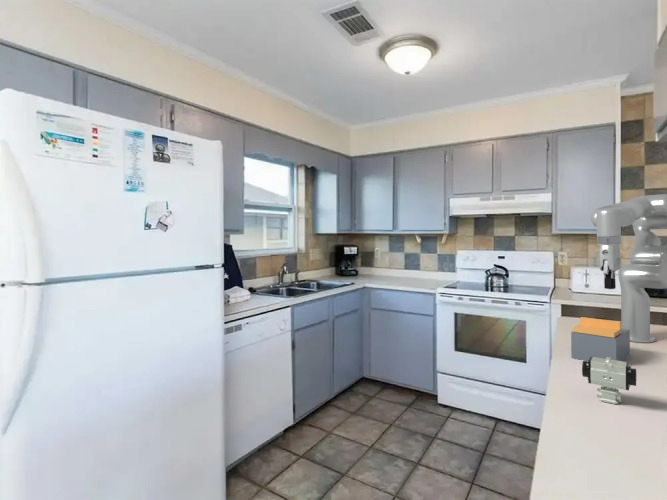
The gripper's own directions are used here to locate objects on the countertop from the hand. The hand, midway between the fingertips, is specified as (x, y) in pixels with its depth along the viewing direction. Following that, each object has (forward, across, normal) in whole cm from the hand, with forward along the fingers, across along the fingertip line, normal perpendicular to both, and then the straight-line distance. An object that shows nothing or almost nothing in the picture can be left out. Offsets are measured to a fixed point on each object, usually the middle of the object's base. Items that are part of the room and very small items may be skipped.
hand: (610, 288), depth 148 cm
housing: (+23, -13, 0) cm, 27 cm away
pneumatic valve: (+22, -55, -13) cm, 60 cm away
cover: (+13, -16, 0) cm, 21 cm away
